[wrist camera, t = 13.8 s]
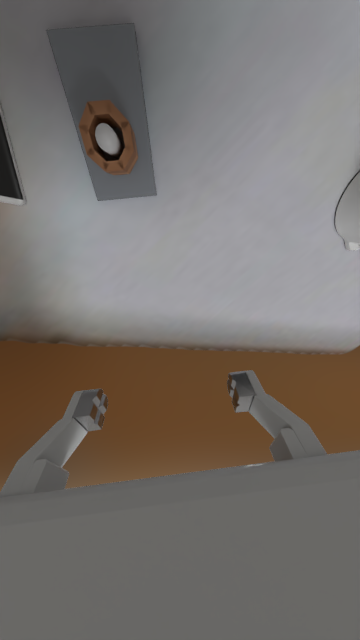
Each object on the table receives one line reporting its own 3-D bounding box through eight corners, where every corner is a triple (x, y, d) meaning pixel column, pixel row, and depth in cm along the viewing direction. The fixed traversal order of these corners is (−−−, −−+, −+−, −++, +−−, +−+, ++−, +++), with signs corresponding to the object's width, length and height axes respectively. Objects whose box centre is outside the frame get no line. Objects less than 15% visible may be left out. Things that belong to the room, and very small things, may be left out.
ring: (131, 115, 23) (124, 98, 19) (140, 172, 27) (137, 169, 23) (87, 118, 23) (71, 102, 19) (102, 176, 27) (92, 173, 23)
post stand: (135, 31, 20) (124, -34, 15) (156, 195, 30) (155, 195, 24) (51, 37, 20) (7, -26, 14) (100, 200, 30) (84, 202, 24)
